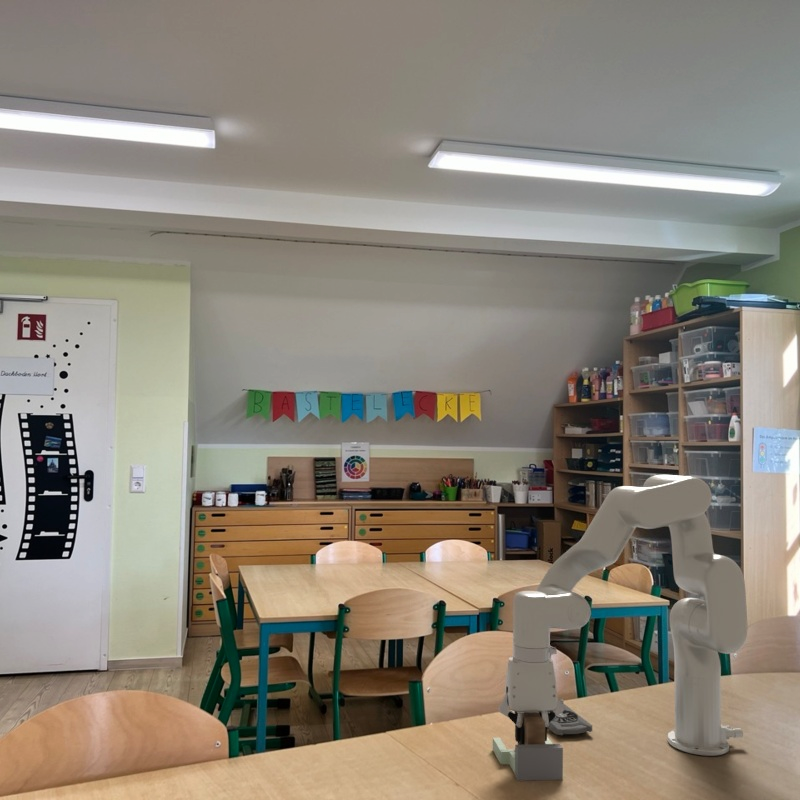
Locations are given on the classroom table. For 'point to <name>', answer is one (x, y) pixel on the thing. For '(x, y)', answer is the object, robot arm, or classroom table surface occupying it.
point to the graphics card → (569, 722)
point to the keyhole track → (532, 760)
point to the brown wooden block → (533, 728)
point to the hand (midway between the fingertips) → (530, 743)
